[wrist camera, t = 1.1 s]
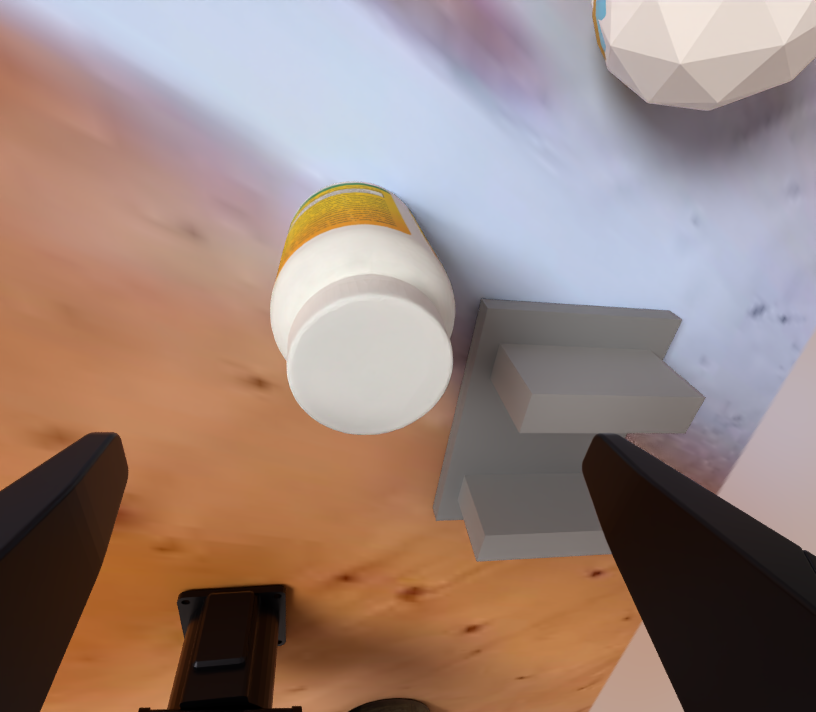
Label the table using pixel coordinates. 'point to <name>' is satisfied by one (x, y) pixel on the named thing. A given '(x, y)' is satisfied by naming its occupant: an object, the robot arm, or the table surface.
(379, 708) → the container
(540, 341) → the holder
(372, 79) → the table surface
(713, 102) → the ornament
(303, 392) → the supplement bottle
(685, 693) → the robot arm
